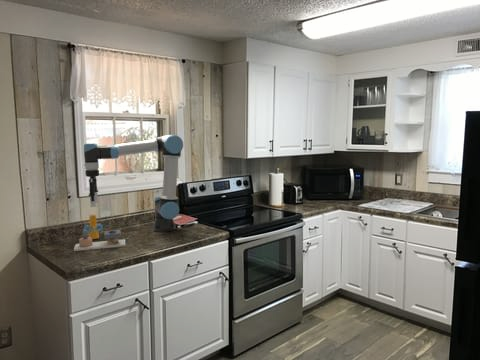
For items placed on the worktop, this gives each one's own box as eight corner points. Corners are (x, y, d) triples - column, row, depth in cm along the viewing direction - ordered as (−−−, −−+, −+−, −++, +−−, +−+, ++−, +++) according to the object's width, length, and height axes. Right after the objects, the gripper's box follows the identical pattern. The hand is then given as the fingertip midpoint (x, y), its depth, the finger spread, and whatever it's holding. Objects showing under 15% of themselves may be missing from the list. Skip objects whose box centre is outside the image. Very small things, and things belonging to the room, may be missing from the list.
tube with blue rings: (96, 235, 250) (95, 212, 248) (107, 237, 245) (106, 214, 243) (80, 239, 239) (78, 216, 238) (91, 241, 234) (89, 217, 232)
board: (125, 241, 234) (125, 239, 234) (125, 246, 223) (125, 244, 223) (76, 245, 226) (75, 243, 225) (73, 251, 215) (73, 249, 215)
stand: (118, 240, 230) (118, 228, 229) (118, 243, 224) (117, 231, 223) (107, 241, 228) (106, 229, 228) (107, 244, 222) (106, 232, 221)
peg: (92, 243, 226) (91, 228, 225) (91, 246, 220) (90, 231, 219) (80, 244, 224) (79, 229, 223) (78, 247, 218) (77, 232, 217)
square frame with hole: (120, 233, 231) (120, 229, 231) (120, 237, 223) (120, 233, 223) (104, 235, 229) (104, 231, 229) (104, 238, 220) (104, 234, 220)
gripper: (87, 168, 237) (90, 201, 240) (82, 171, 213) (85, 208, 216) (100, 167, 239) (102, 200, 242) (96, 171, 215) (99, 208, 218)
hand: (94, 204), depth 229 cm, fingers open, 13 cm apart
